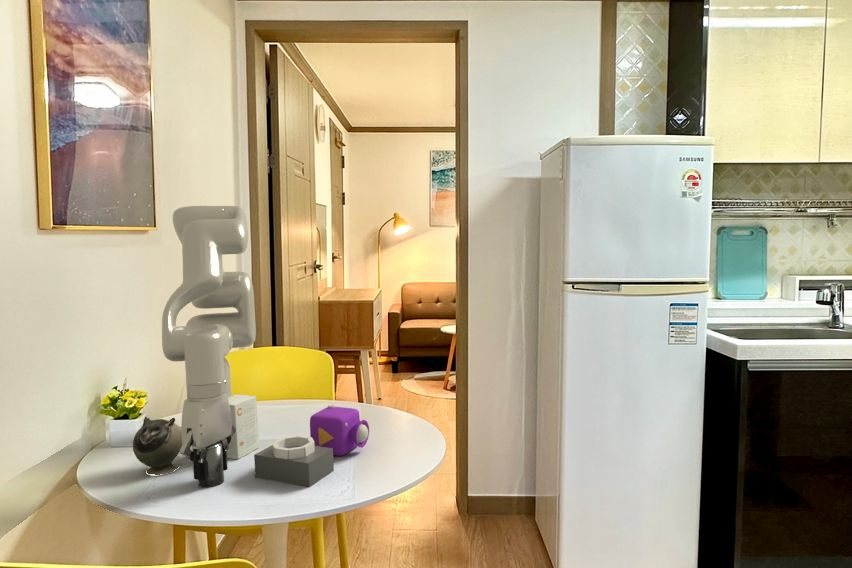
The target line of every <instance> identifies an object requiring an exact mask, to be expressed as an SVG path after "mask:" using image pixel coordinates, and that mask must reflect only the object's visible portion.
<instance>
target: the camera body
mask: <svg viewBox="0 0 852 568" xmlns="http://www.w3.org/2000/svg"><path fill="white" fill-rule="evenodd" d="M253 458H254V477H255V478H257V479H262V480H269V481H274V482H278V483H279V482H280V483H286V484H291V485H296V486H303V487H307V488H310V487H312V486H314V485H315V484H316V483H318V482H319V481H321V480H322V479H324V478H325V477H327V476H328V475H329V474H331V473H332V472H334V470H335V469H334V455H333V448H327V447H320V446H315V442H314V440H313V438H312V437H310V436H306V435H291V436H284V437H281V438H279V439H277V440H275V441H273V443H272V445H270V446H268V447H266V448H264V449H262V450H260V451H258V452H256V453H255V454H254V455H253Z"/></svg>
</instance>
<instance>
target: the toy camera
mask: <svg viewBox="0 0 852 568" xmlns="http://www.w3.org/2000/svg"><path fill="white" fill-rule="evenodd" d="M360 416H361V415H360V412H359V410H358V409H356V408H351V407H342V406H336V404H328V405H327V406H326V407H325V408H323V409H322V410H319V411H316V412H315V413H314V414H312V415H311V416H310V418H309V434H310V436H309V437H312V438H313V440H314V442H315V446H320V447H327V448H333V456H339V457H342V456H344V455H347V454H348V453H349V452H352V451H353V450H355V448H357V447H358V448H361V449H362V448H363V447H365V446H366V444H367V442H368V440H369V436H370V426H369V422H368V421H367V420H366V419H361V417H360Z"/></svg>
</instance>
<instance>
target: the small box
mask: <svg viewBox="0 0 852 568" xmlns="http://www.w3.org/2000/svg"><path fill="white" fill-rule="evenodd" d="M228 400H229V405H230V411H231V421H232V425H233V426H234V428H235V429H236V431H235V433H234V435H233V436H232V437H231V441H230V443H229V445H228V446H229V449H228V451H226V452H227V459H232V460H239V459H241V458H243V457H245V456H246V455H248V454H250V453H252V452H254V451H256V450H258V449H259V448H260V441H259V425H258V422H259V421H258V406H257V404H258V403H257V396H255V395H248V394H247V395H246V394H234V395H231V397H229V398H228Z"/></svg>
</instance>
